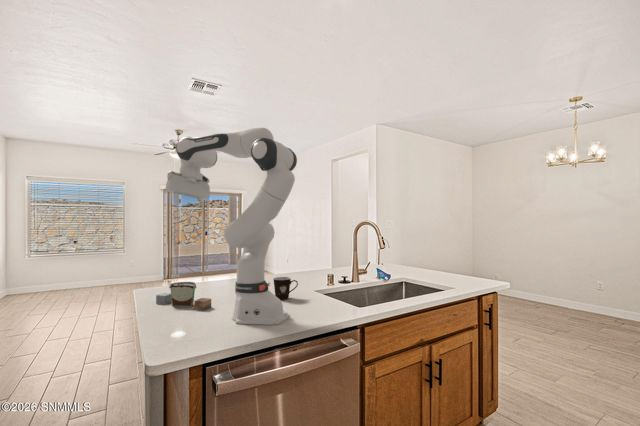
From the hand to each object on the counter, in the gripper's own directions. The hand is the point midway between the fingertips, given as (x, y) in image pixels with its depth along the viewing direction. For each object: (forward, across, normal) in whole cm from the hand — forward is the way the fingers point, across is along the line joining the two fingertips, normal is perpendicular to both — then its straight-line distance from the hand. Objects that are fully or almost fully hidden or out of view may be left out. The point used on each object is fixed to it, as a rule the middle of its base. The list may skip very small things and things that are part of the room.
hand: (187, 205), depth 138 cm
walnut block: (+46, +10, -1) cm, 47 cm away
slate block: (+43, +5, +22) cm, 49 cm away
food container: (+44, +9, +11) cm, 46 cm away
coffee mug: (+44, +42, -21) cm, 64 cm away
